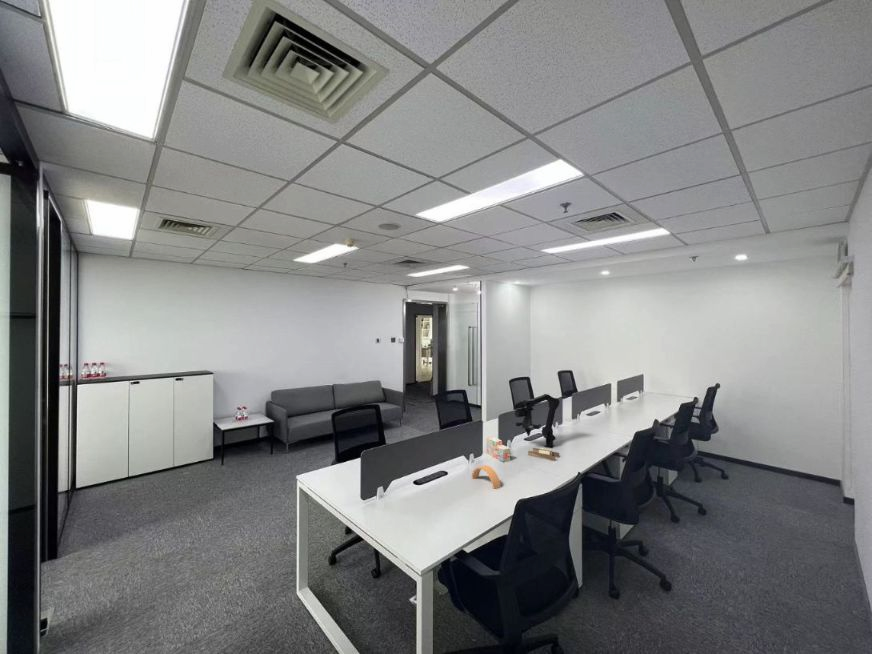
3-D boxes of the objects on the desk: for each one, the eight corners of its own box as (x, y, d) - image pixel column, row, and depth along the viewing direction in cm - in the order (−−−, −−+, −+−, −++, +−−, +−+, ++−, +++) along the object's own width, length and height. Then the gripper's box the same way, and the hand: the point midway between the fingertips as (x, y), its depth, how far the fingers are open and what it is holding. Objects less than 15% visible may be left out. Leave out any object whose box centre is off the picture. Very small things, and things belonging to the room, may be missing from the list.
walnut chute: (533, 451, 270) (533, 447, 270) (559, 456, 258) (559, 452, 258) (528, 455, 262) (528, 451, 262) (554, 461, 250) (554, 456, 250)
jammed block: (541, 453, 264) (541, 448, 264) (552, 456, 259) (552, 450, 259) (538, 456, 259) (538, 450, 259) (549, 458, 254) (549, 452, 254)
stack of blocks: (510, 461, 251) (510, 444, 251) (503, 462, 248) (502, 445, 248) (493, 452, 270) (492, 436, 270) (486, 453, 267) (486, 437, 268)
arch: (493, 490, 205) (493, 473, 205) (471, 478, 221) (471, 463, 221) (500, 487, 208) (500, 471, 208) (478, 476, 225) (478, 461, 225)
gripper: (512, 416, 274) (513, 436, 274) (536, 419, 263) (536, 440, 263) (518, 413, 283) (518, 433, 283) (541, 416, 272) (541, 436, 272)
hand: (528, 435), depth 275 cm, fingers closed
